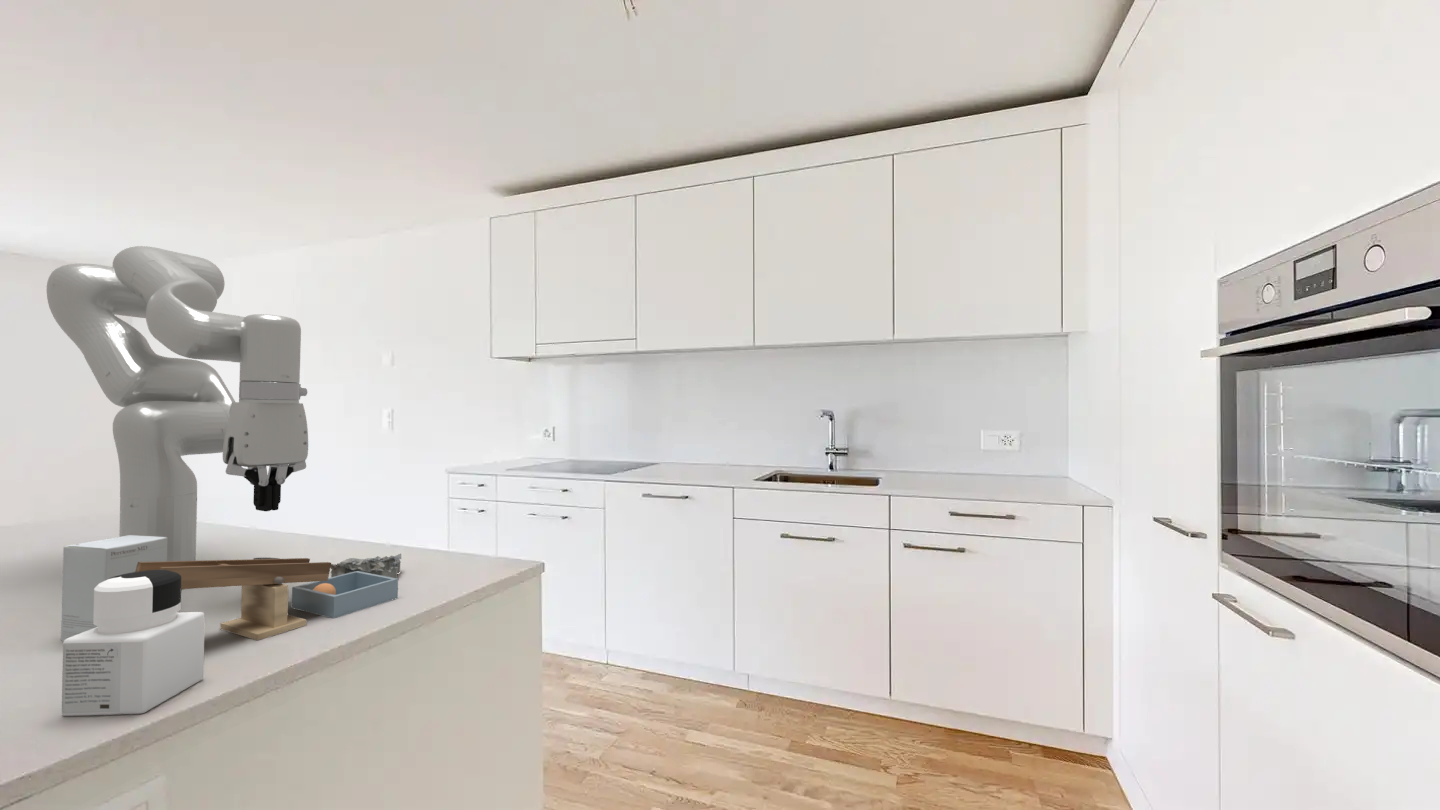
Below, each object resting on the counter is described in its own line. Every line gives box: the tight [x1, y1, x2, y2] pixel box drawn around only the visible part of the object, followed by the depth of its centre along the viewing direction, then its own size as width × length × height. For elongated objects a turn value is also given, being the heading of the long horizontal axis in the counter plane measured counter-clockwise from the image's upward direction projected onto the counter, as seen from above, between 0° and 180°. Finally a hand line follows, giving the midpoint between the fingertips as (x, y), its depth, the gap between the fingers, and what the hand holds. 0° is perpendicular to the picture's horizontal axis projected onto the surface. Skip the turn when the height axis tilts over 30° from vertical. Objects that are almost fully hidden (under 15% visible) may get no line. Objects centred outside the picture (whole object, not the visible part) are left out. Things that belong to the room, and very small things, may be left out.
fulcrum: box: [219, 583, 307, 641], centre depth 81 cm, size 9×6×6 cm, turn 66°
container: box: [61, 570, 206, 717], centre depth 61 cm, size 8×8×13 cm
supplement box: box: [60, 535, 168, 642], centre depth 78 cm, size 7×7×13 cm
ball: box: [313, 583, 336, 595], centre depth 90 cm, size 3×3×3 cm
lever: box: [135, 557, 332, 590], centre depth 81 cm, size 17×21×3 cm
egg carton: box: [330, 553, 402, 579], centre depth 104 cm, size 11×8×4 cm
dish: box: [291, 571, 399, 619], centre depth 91 cm, size 10×10×4 cm
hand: (266, 509), depth 91 cm, fingers closed
